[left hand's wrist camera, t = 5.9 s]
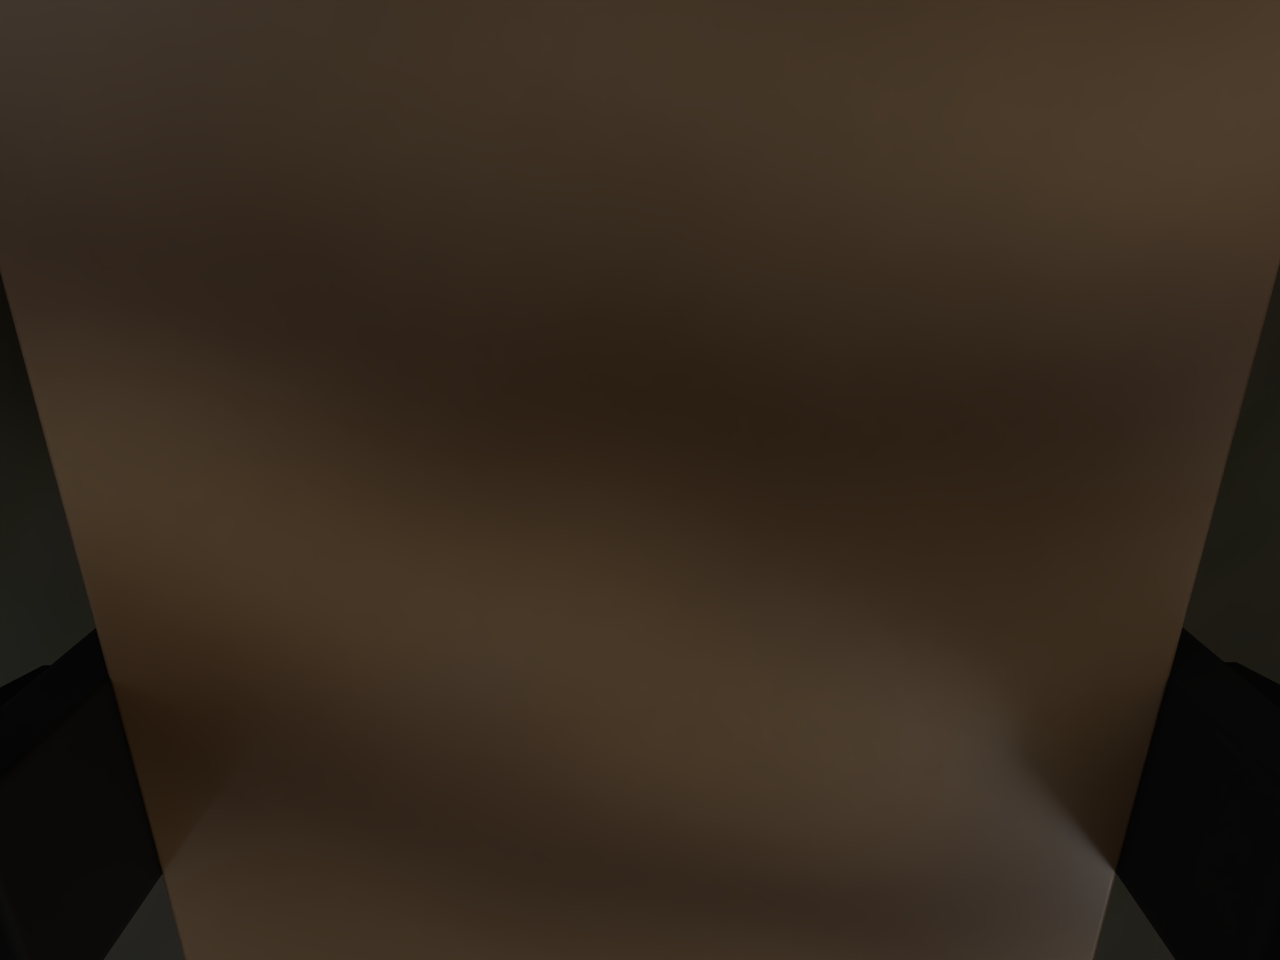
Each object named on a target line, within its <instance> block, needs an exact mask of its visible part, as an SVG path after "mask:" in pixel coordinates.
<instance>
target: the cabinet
mask: <svg viewBox="0 0 1280 960" xmlns="http://www.w3.org/2000/svg"><path fill="white" fill-rule="evenodd" d="M1279 265H1280V0H0V273H1V277H2V281H3V285H4V288H5V292H6V296H7V299H8V303H9V307H10V311H11V314H12V318H13V322H14V325H15V329H16V333H17V337H18V340H19V344H20V348H21V351H22V355H23V359H24V363H25V366H26V370H27V374H28V377H29V381H30V385H31V388H32V392H33V396H34V400H35V403H36V407H37V411H38V414H39V418H40V422H41V426H42V429H43V433H44V437H45V440H46V444H47V448H48V452H49V455H50V459H51V463H52V466H53V470H54V474H55V478H56V481H57V485H58V489H59V492H60V496H61V500H62V504H63V507H64V511H65V515H66V518H67V522H68V526H69V530H70V533H71V537H72V541H73V544H74V548H75V552H76V556H77V559H78V563H79V567H80V570H81V574H82V578H83V582H84V585H85V589H86V593H87V596H88V600H89V604H90V608H91V611H92V615H93V619H94V622H95V626H96V630H97V634H98V637H99V641H100V645H101V648H102V652H103V656H104V660H105V663H106V667H107V671H108V674H109V678H110V682H111V685H112V689H113V693H114V697H115V700H116V704H117V708H118V711H119V715H120V719H121V723H122V726H123V730H124V734H125V737H126V741H127V745H128V749H129V752H130V756H131V760H132V763H133V767H134V771H135V775H136V778H137V782H138V786H139V789H140V793H141V797H142V801H143V804H144V808H145V812H146V815H147V819H148V823H149V827H150V830H151V834H152V838H153V841H154V845H155V849H156V853H157V856H158V860H159V864H160V867H161V871H162V875H163V879H164V882H165V886H166V890H167V893H168V897H169V901H170V905H171V908H172V912H173V916H174V919H175V923H176V927H177V931H178V934H179V938H180V942H181V945H182V949H183V953H184V957H185V960H1093V959H1094V955H1095V951H1096V948H1097V944H1098V940H1099V936H1100V933H1101V929H1102V925H1103V922H1104V918H1105V914H1106V910H1107V907H1108V903H1109V899H1110V895H1111V892H1112V888H1113V884H1114V881H1115V877H1116V873H1117V869H1118V866H1119V862H1120V858H1121V854H1122V851H1123V847H1124V843H1125V839H1126V836H1127V832H1128V828H1129V825H1130V821H1131V817H1132V813H1133V810H1134V806H1135V802H1136V798H1137V795H1138V791H1139V787H1140V784H1141V780H1142V776H1143V772H1144V769H1145V765H1146V761H1147V757H1148V754H1149V750H1150V746H1151V742H1152V739H1153V735H1154V731H1155V728H1156V724H1157V720H1158V716H1159V713H1160V709H1161V705H1162V701H1163V698H1164V694H1165V690H1166V687H1167V683H1168V679H1169V675H1170V672H1171V668H1172V664H1173V660H1174V657H1175V653H1176V649H1177V646H1178V642H1179V638H1180V634H1181V631H1182V627H1183V623H1184V619H1185V616H1186V612H1187V608H1188V604H1189V601H1190V597H1191V593H1192V590H1193V586H1194V582H1195V578H1196V575H1197V571H1198V567H1199V563H1200V560H1201V556H1202V552H1203V549H1204V545H1205V541H1206V537H1207V534H1208V530H1209V526H1210V522H1211V519H1212V515H1213V511H1214V508H1215V504H1216V500H1217V496H1218V493H1219V489H1220V485H1221V481H1222V478H1223V474H1224V470H1225V466H1226V463H1227V459H1228V455H1229V452H1230V448H1231V444H1232V440H1233V437H1234V433H1235V429H1236V425H1237V422H1238V418H1239V414H1240V411H1241V407H1242V403H1243V399H1244V396H1245V392H1246V388H1247V384H1248V381H1249V377H1250V373H1251V369H1252V366H1253V362H1254V358H1255V355H1256V351H1257V347H1258V343H1259V340H1260V336H1261V332H1262V328H1263V325H1264V321H1265V317H1266V314H1267V310H1268V306H1269V302H1270V299H1271V295H1272V291H1273V287H1274V284H1275V280H1276V276H1277V273H1278V269H1279Z"/></svg>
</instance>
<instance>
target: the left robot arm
mask: <svg viewBox="0 0 1280 960" xmlns="http://www.w3.org/2000/svg"><path fill="white" fill-rule="evenodd" d="M161 875H162V871H161V867H160V864H159V860H158V856H157V853H156V849H155V845H154V841H153V838H152V834H151V830H150V827H149V823H148V819H147V815H146V812H145V808H144V804H143V801H142V797H141V793H140V789H139V786H138V782H137V778H136V775H135V771H134V767H133V763H132V760H131V756H130V752H129V749H128V745H127V741H126V737H125V734H124V730H123V726H122V723H121V719H120V715H119V711H118V708H117V704H116V700H115V697H114V693H113V689H112V685H111V682H110V678H109V674H108V671H107V667H106V663H105V660H104V656H103V652H102V648H101V645H100V641H99V637H98V634H97V630H96V628H95V629H94V630H93V631H92V632H91V633H89V634H88V635H87V636H86V637H85V638H83V639H82V640H81V641H80V642H78V643H77V644H76V645H75V646H74V647H72V648H71V649H70V650H69V651H68V652H66V653H65V654H64V655H63V656H62V657H60V658H59V659H58V660H57V661H56V662H54V663H53V664H52V665H43V666H41V667H39V668H37V669H35V670H33V671H31V672H29V673H28V674H26V675H24V676H22V677H20V678H18V679H16V680H14V681H12V682H10V683H8V684H6V685H4V686H3V687H1V688H0V960H104V958H105V957H106V955H107V954H108V952H109V951H110V949H111V948H112V946H113V945H114V944H115V942H116V941H117V939H118V938H119V936H120V935H121V933H122V932H123V930H124V929H125V927H126V926H127V925H128V923H129V922H130V920H131V919H132V917H133V916H134V914H135V913H136V911H137V910H138V908H139V907H140V906H141V904H142V903H143V901H144V900H145V898H146V897H147V895H148V894H149V892H150V891H151V889H152V888H153V886H154V885H155V884H156V882H157V881H158V879H159V878H160V876H161ZM1117 875H1118V876H1119V878H1120V879H1121V881H1122V882H1123V883H1124V885H1125V886H1126V888H1127V889H1128V891H1129V892H1130V894H1131V895H1132V897H1133V898H1134V900H1135V901H1136V902H1137V904H1138V905H1139V907H1140V908H1141V910H1142V911H1143V913H1144V914H1145V916H1146V917H1147V919H1148V920H1149V921H1150V923H1151V924H1152V926H1153V927H1154V929H1155V930H1156V932H1157V933H1158V935H1159V936H1160V938H1161V939H1162V941H1163V942H1164V943H1165V945H1166V946H1167V948H1168V949H1169V951H1170V952H1171V954H1172V955H1173V957H1174V958H1175V960H1280V685H1279V684H1277V683H1275V682H1274V681H1272V680H1270V679H1268V678H1266V677H1264V676H1262V675H1260V674H1258V673H1256V672H1254V671H1252V670H1250V669H1248V668H1246V667H1244V666H1243V665H1241V664H1239V663H1237V662H1223V661H1222V660H1221V659H1220V658H1219V657H1217V656H1216V655H1215V654H1214V653H1213V652H1211V651H1210V650H1209V649H1208V648H1207V647H1205V646H1204V645H1203V644H1202V643H1200V642H1199V641H1198V640H1197V639H1196V638H1194V637H1193V636H1192V635H1191V634H1190V633H1188V632H1187V631H1186V630H1185V629H1184V628H1182V631H1181V634H1180V638H1179V642H1178V646H1177V649H1176V653H1175V657H1174V660H1173V664H1172V668H1171V672H1170V675H1169V679H1168V683H1167V687H1166V690H1165V694H1164V698H1163V701H1162V705H1161V709H1160V713H1159V716H1158V720H1157V724H1156V728H1155V731H1154V735H1153V739H1152V742H1151V746H1150V750H1149V754H1148V757H1147V761H1146V765H1145V769H1144V772H1143V776H1142V780H1141V784H1140V787H1139V791H1138V795H1137V798H1136V802H1135V806H1134V810H1133V813H1132V817H1131V821H1130V825H1129V828H1128V832H1127V836H1126V839H1125V843H1124V847H1123V851H1122V854H1121V858H1120V862H1119V866H1118V869H1117Z"/></svg>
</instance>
